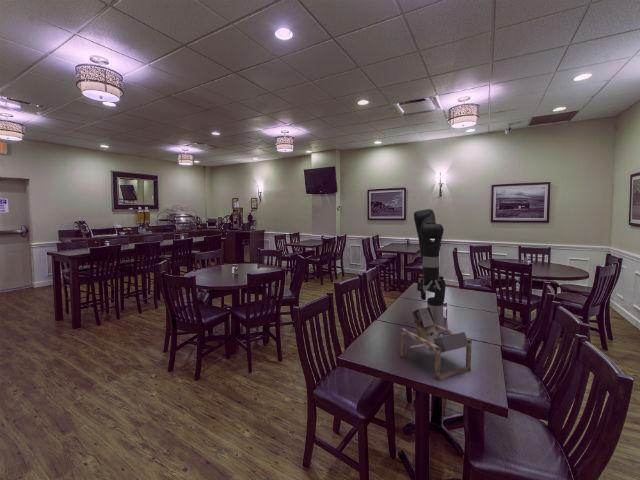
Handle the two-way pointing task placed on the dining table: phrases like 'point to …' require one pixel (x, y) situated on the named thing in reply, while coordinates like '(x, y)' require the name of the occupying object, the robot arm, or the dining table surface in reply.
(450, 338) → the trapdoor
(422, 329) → the coffee box
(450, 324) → the dining table surface
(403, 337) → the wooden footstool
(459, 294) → the dining table surface
